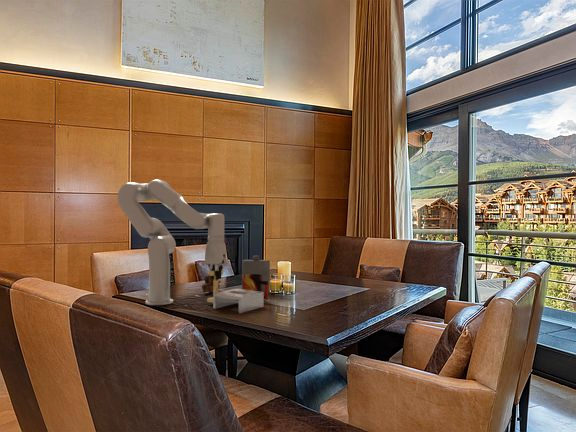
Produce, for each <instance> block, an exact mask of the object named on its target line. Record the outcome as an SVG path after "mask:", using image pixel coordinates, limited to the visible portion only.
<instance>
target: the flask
mask: <svg viewBox="0 0 576 432" xmlns="http://www.w3.org/2000/svg"><path fill="white" fill-rule="evenodd" d="M270 261H271V260H269V259H260V255H252V259H243V260H242V261H241V263H242V265H241V266H242V267H241V268H242V269H241V272H242V274H241V276H242V275H245V274H259V275H262V281H268V294H269V293H270V292H271V291H270V286H271V285H270V284H271V283H270V280H271V279H270V278H271V277H270V275H271V274H270V273H271V270H270V269H271V267H270V266H271V262H270ZM262 292H264V295H265V285H264V284H262Z"/></svg>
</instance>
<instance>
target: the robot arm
mask: <svg viewBox="0 0 576 432" xmlns="http://www.w3.org/2000/svg"><path fill="white" fill-rule="evenodd" d="M153 200H154V201H155V200H156V201H158V202H159V203H161V204H162V205H163V206H165V207H166V208H167V209H168V210H170V212H172V213H173V214H174V215H175V216H176V218H178V219H179V220H180V221H182V222H184V223H185V224H187V226H189V227H190V228H192V229H194V230H204V229H208V230H207V242H206V245H205V251H204V252H205V253H204V263H205V265H206V266H208V268H209V271H211V270H217V271H216V279H219V280H221V279H222V274H221V270H223V271H224V268H225V267H226V266H227V267H228V263H227V258H228V257H227V246H226V243H225V215H224V214H223V213H205V212H199V211H197V210H196V209H195V208H193V207H192V206H190V205H189V204H188V203H187V202H186V201H185V198H184V197H183V195H181V194H180V193H178V192H177V191H176V190H174V188H172V186H171V185H170V184H169V183H168V182H167V181H165V180H162V179H154V180H153V179H152V180H151V181H150V182H149V183H139V182H133V181H132V182H131V181H130V182H126V183H123V184H122V186H120V188H119V189H118V192H117V201H118V202H117V203H118V206H119V207H120V209H121V211H122V212H123V214H124V215H125V216H126V218H127V219H128V220H129V223H131V225H132V227H134V229H135V230H136V232H137V233H138V235H140V237H142V238H146V239H147V238H148V239H149V240H150V241H149V242H148V245H147V255H148V272H149V273H148V293H146V294H144V295H145V297H147V299H146V300H145V301H144V302H145V305H149V306H165V305H170V304H172V303H173V304H174V299H173V298H171V260H170V259H171V258H170V254H172V253H173V252H175V249H176V247H177V245H176V244H177V243H176V240H175V238H174V237H173V236H172V234H171V233H170V231H169V230H168V229H167V227H166V226H165V225H164V223H163V222H162V221H161V220H160V219H158V218H155V217H151V216H150V214H148V212H147V211H146V210H145V208H144V207H143V206H142V205H141V203H140V202H143V201H153ZM211 279H214V276H211Z"/></svg>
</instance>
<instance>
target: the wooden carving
mask: <svg viewBox="0 0 576 432" xmlns="http://www.w3.org/2000/svg"><path fill="white" fill-rule="evenodd" d="M203 281H204V283H202V284H201V290H202V292H203V293H213V281H214V279H211V276H210V275H209V273H208V274H207V275H205V276H204V280H203ZM221 282H222V280H219V288H220V287H221V285H220V283H221Z"/></svg>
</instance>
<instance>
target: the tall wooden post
mask: <svg viewBox="0 0 576 432" xmlns="http://www.w3.org/2000/svg"><path fill="white" fill-rule="evenodd" d="M216 271H217V269H215V270H209V271H208V274H209V275H210V276H214V281H213V292H212V293H218V292H220V290H219V288H220V287H219V285H220V283H219V281H220V279H216ZM223 274H224V269H223V270H221V275H223ZM206 302H207V303H212V304H213V296H212V297H208V298H207V299H206Z"/></svg>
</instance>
